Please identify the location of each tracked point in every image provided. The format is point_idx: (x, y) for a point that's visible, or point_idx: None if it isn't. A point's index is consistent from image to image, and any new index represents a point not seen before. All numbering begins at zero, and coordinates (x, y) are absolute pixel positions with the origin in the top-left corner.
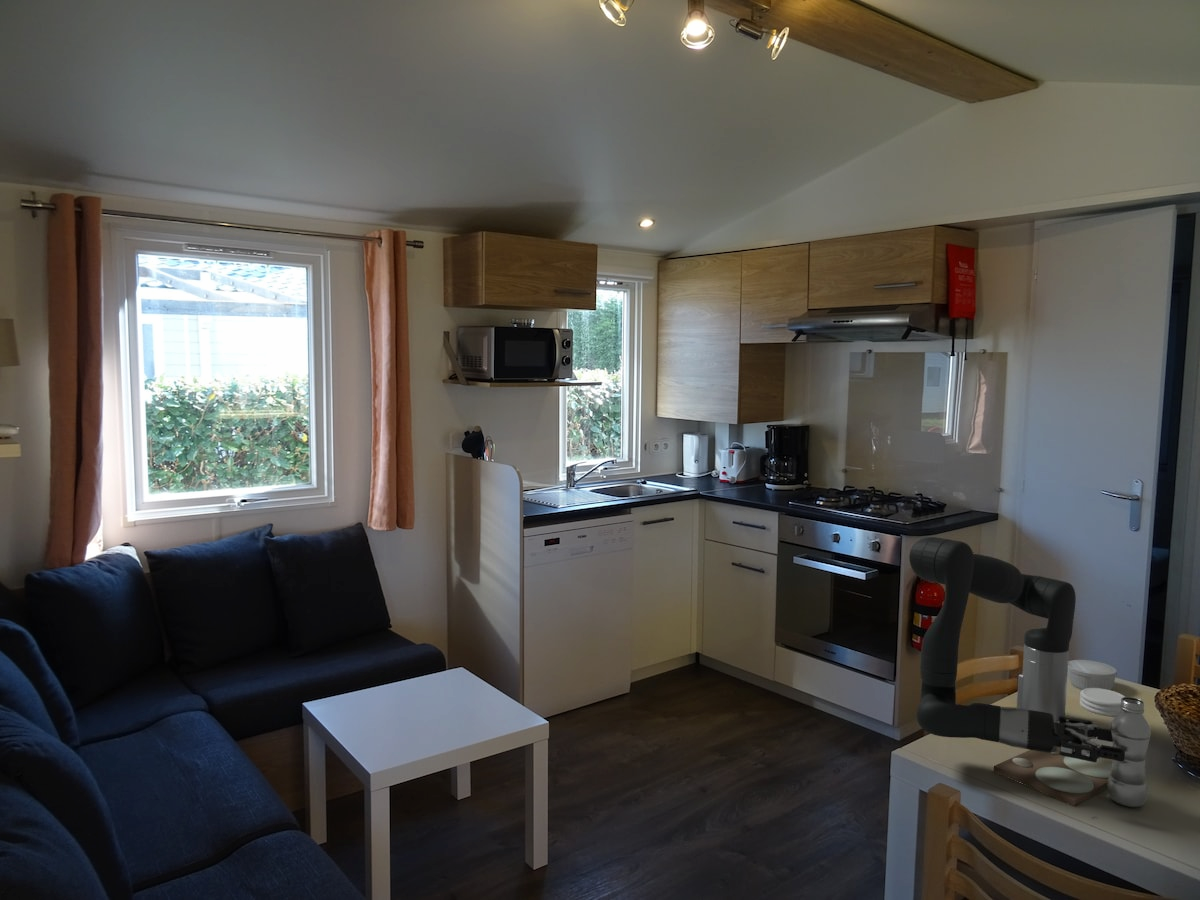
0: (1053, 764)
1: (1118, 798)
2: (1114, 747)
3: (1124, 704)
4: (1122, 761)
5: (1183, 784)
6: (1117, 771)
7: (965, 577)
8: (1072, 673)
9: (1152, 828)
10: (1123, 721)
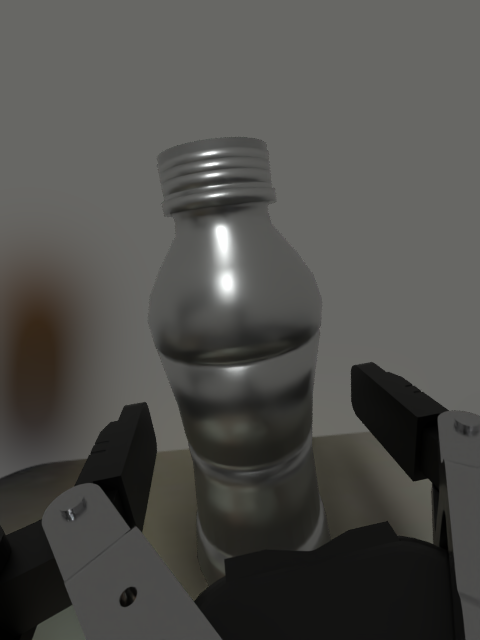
0: None
1: None
2: (382, 378)
3: (257, 158)
4: (311, 438)
5: (81, 468)
6: (309, 496)
7: None
8: None
9: (376, 488)
10: (291, 255)
